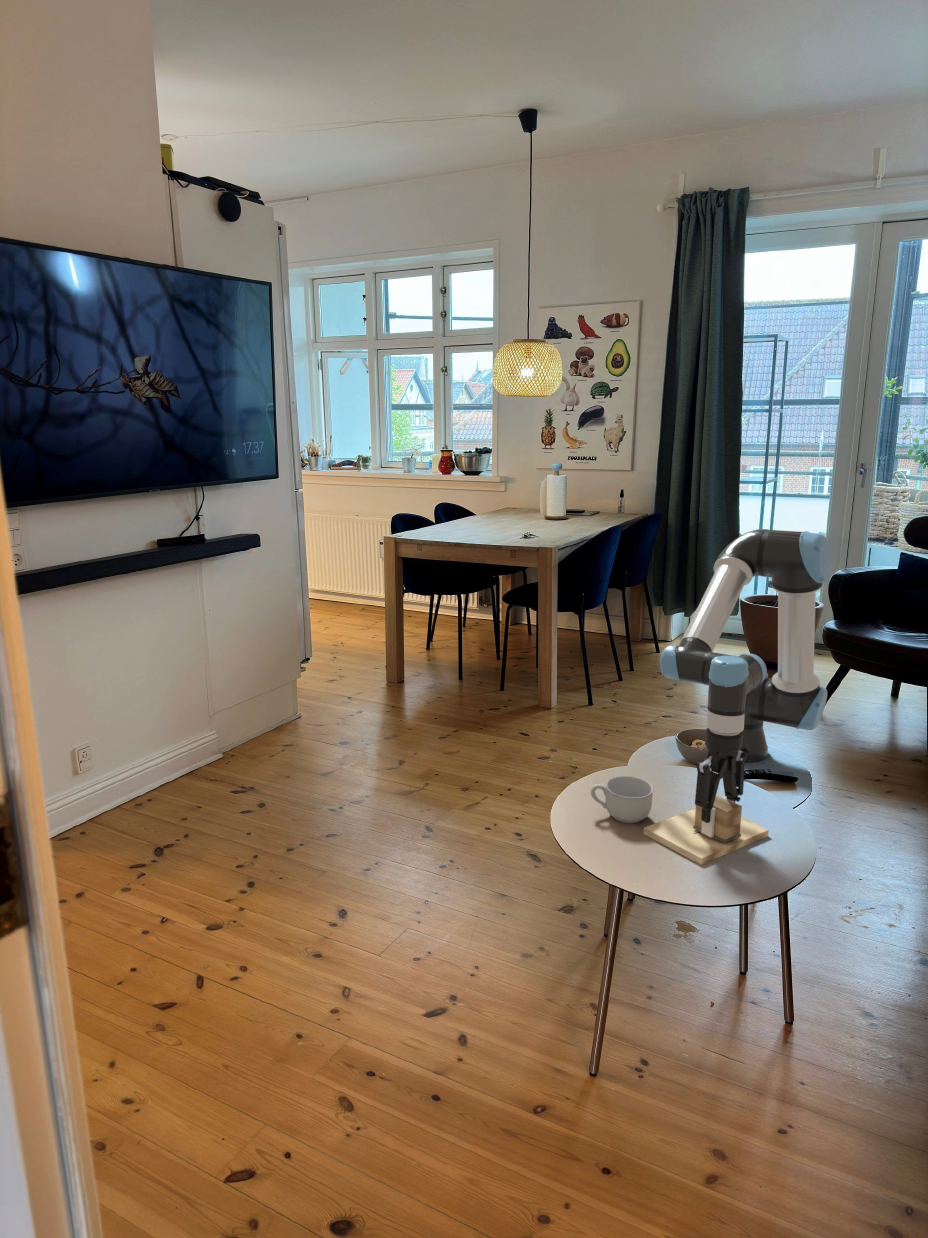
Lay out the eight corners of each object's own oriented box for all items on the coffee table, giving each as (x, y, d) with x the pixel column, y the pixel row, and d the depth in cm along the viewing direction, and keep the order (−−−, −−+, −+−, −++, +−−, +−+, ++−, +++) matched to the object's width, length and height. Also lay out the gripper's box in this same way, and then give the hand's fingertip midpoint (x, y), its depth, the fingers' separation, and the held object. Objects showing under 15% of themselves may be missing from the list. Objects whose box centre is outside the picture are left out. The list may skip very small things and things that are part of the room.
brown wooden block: (709, 822, 180) (711, 792, 179) (740, 836, 174) (743, 806, 172) (693, 828, 178) (695, 798, 176) (724, 843, 171) (726, 812, 169)
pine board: (709, 809, 191) (710, 803, 191) (768, 836, 178) (768, 829, 178) (643, 834, 179) (643, 827, 179) (701, 865, 166) (701, 858, 166)
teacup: (655, 811, 190) (657, 779, 188) (647, 832, 180) (649, 798, 178) (596, 801, 195) (597, 770, 193) (585, 821, 185) (586, 788, 183)
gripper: (738, 716, 178) (730, 813, 184) (680, 733, 169) (674, 835, 174) (767, 726, 172) (758, 826, 177) (709, 744, 162) (701, 850, 168)
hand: (716, 830), depth 176 cm, fingers closed on brown wooden block, 5 cm apart
